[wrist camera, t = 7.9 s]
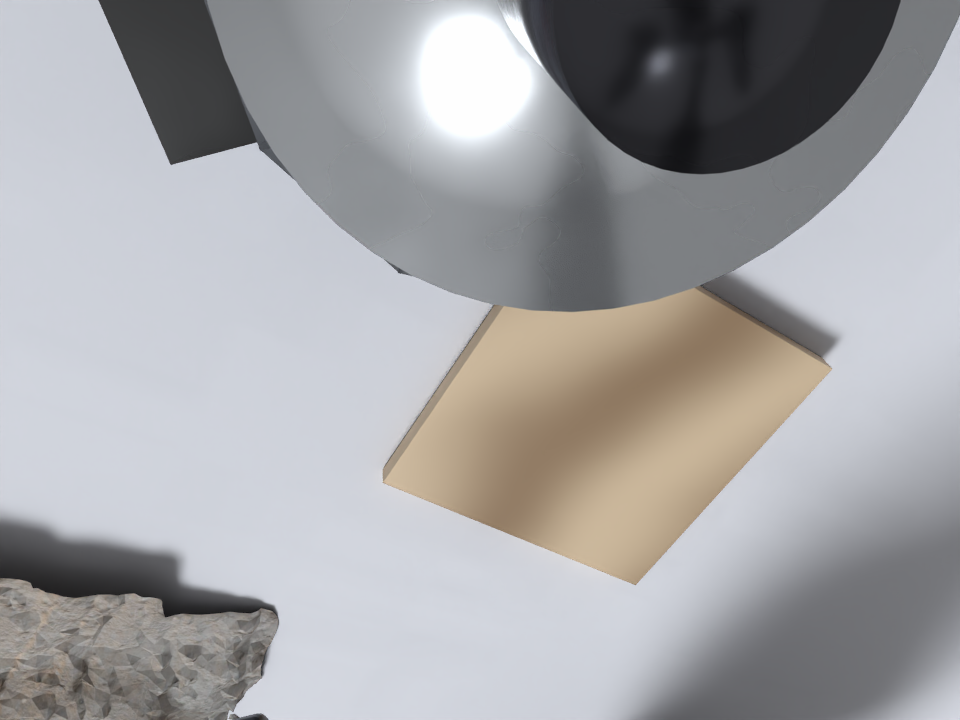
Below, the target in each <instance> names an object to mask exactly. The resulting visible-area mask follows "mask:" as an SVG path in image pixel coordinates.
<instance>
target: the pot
mask: <svg viewBox="0 0 960 720" xmlns="http://www.w3.org/2000/svg"><path fill="white" fill-rule="evenodd" d="M99 2H100V5H101V7H102V9H103V11H104V14H105V16H106V18H107V20H108V23H109V25H110V27H111V30H112V32H113V34H114V36H115V39H116V41H117V43H118V46H119V48H120V50H121V52H122V55H123V57H124V59H125V62H126V64H127V66H128V68H129V71H130V73H131V75H132V77H133V80H134V82H135V84H136V87H137V89H138V91H139V93H140V96H141V98H142V100H143V103H144V105H145V107H146V109H147V112H148V114H149V116H150V119H151V121H152V123H153V125H154V128H155V130H156V132H157V134H158V137H159V139H160V141H161V144H162V146H163V148H164V150H165V153H166V155H167V157H168V160H169V162H170V164H171V165H172V164H176V163H180V162H183V161H187V160H191V159H195V158H199V157H202V156H206V155H210V154H214V153H218V152H221V151H225V150H229V149H233V148H236V147H240V146H244V145H248V144H252V143H255V142H257V143H258V145H259V149H260V151H262V152H264V153H265V154H266V155H267V156H268V157H269V158H270V159H271V160H273V161H274V162H275V163H276V164H277V165H278V166H279V167H281V168H282V169H283V170H284V171H285V172H286V173H287V174H288V175H290V176H291V174H290V173H289V172H288V170H287V169H286V168H285V167H284V165H283V164H282V163H281V162H280V160H279V159H278V158H277V156H276V155H275V154H274V152H273V151H272V149H271V147H270V146H269V144H268V142H267V141H266V139H265V137H264V136H263V134H262V132H261V131H260V129H259V128H258V126H257V124H256V123H255V121H254V119H253V118H252V116H251V114H250V113H249V111H248V109H247V107H246V105H245V103H244V100H243V98H242V96H241V94H240V92H239V89H238V87H237V85H236V83H235V80H234V78H233V76H232V74H231V72H230V69H229V67H228V65H227V63H226V60H225V58H224V55H223V51H222V48H221V45H220V42H219V39H218V35H217V32H216V29H215V26H214V23H213V19H212V16H211V13H210V10H209V6H208V3H207V0H99ZM291 177H292V176H291ZM292 178H293V177H292ZM293 179H294V178H293ZM294 180H295V179H294ZM384 260H385V259H384ZM385 261H386V260H385ZM387 262H388V261H387ZM388 263H389V264H390V265H391V266H392V267H393V268H394V269H396V270H397V271H398V273H400V274H401V273H402V274H406V275H410V274H408V273H407V272H405V271H403V270H402V269H400V268H398V267H396V266H395V265H393V264H391V263H390V262H388ZM410 276H412V275H410Z"/></svg>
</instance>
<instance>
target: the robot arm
mask: <svg viewBox="0 0 960 720" xmlns="http://www.w3.org/2000/svg"><path fill="white" fill-rule="evenodd" d="M234 720H268V718H267V717H266V716H265V715H263V714H253V715H249V716H245V717H241V718H237V719H234Z"/></svg>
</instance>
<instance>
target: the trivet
mask: <svg viewBox="0 0 960 720" xmlns="http://www.w3.org/2000/svg"><path fill="white" fill-rule="evenodd" d="M831 370H832V368H831V367H830V366H829V365H828V364H827V363H826V362H825V360H824V359H823V358H821V357H820V356H818V355H816V354H815V353H813V352H811V351H810V350H808V349H806V348H804V347H803V346H801V345H799V344H798V343H796V342H794V341H793V340H791V339H789V338H787V337H786V336H784V335H782V334H781V333H779V332H777V331H776V330H774V329H772V328H770V327H769V326H767V325H765V324H764V323H762V322H760V321H759V320H757V319H755V318H753V317H752V316H750V315H748V314H747V313H745V312H743V311H742V310H740V309H738V308H737V307H735V306H733V305H731V304H730V303H728V302H726V301H725V300H723V299H721V298H720V297H718V296H716V295H714V294H713V293H711V292H709V291H708V290H706V289H704V288H703V287H701V286H698V287H695V288H692V289H689V290H686V291H683V292H680V293H677V294H674V295H670V296H667V297H664V298H661V299H658V300H655V301H650V302H645V303H640V304H635V305H630V306H625V307H620V308H615V309H604V310H592V311H579V312H558V311H532V310H525V309H519V308H513V307H507V306H501V305H494V306H493V308H492V309H491V311H490V312H489V314H488V315H487V317H486V318H485V320H484V321H483V323H482V324H481V325H480V327H479V328H478V330H477V331H476V333H475V334H474V336H473V337H472V339H471V340H470V342H469V343H468V345H467V346H466V348H465V349H464V351H463V352H462V353H461V355H460V356H459V358H458V359H457V361H456V362H455V364H454V365H453V367H452V368H451V370H450V371H449V373H448V374H447V376H446V377H445V379H444V380H443V381H442V383H441V384H440V386H439V387H438V389H437V390H436V392H435V393H434V395H433V396H432V398H431V399H430V401H429V402H428V404H427V405H426V407H425V408H424V409H423V411H422V412H421V414H420V415H419V417H418V418H417V420H416V421H415V423H414V424H413V426H412V427H411V429H410V430H409V432H408V433H407V435H406V436H405V437H404V439H403V440H402V442H401V443H400V445H399V446H398V448H397V449H396V451H395V452H394V454H393V455H392V457H391V458H390V460H389V461H388V463H387V464H386V465H385V467H384V468H383V483H385V484H387V485H389V486H392V487H394V488H397V489H399V490H402V491H404V492H407V493H409V494H412V495H414V496H417V497H419V498H422V499H424V500H427V501H429V502H431V503H434V504H436V505H439V506H441V507H444V508H446V509H449V510H451V511H454V512H456V513H459V514H461V515H464V516H466V517H469V518H471V519H473V520H476V521H478V522H481V523H483V524H486V525H488V526H491V527H493V528H496V529H498V530H501V531H503V532H506V533H508V534H511V535H513V536H515V537H518V538H520V539H523V540H525V541H528V542H530V543H533V544H535V545H538V546H540V547H543V548H545V549H548V550H550V551H553V552H555V553H557V554H560V555H562V556H565V557H567V558H570V559H572V560H575V561H577V562H580V563H582V564H585V565H587V566H590V567H592V568H595V569H597V570H599V571H602V572H604V573H607V574H609V575H612V576H614V577H617V578H619V579H622V580H624V581H627V582H629V583H632V584H634V585H636V584H637V583H638V582H639V581H640V580H641V579H642V577H643V576H644V575H645V574H646V573H647V572H648V571H649V570H650V569H651V568H652V566H653V565H654V564H655V563H656V562H657V561H658V560H659V559H660V558H661V557H662V555H663V554H664V553H665V552H666V551H667V550H668V549H669V548H670V547H671V546H672V544H673V543H674V542H675V541H676V540H677V539H678V538H679V537H680V536H681V535H682V533H683V532H684V531H685V530H686V529H687V528H688V527H689V526H690V525H691V524H692V523H693V521H694V520H695V519H696V518H697V517H698V516H699V515H700V514H701V513H702V512H703V510H704V509H705V508H706V507H707V506H708V505H709V504H710V503H711V502H712V501H713V499H714V498H715V497H716V496H717V495H718V494H719V493H720V492H721V491H722V490H723V488H724V487H725V486H726V485H727V484H728V483H729V482H730V481H731V480H732V479H733V477H734V476H735V475H736V474H737V473H738V472H739V471H740V470H741V469H742V468H743V466H744V465H745V464H746V463H747V462H748V461H749V460H750V459H751V458H752V457H753V456H754V454H755V453H756V452H757V451H758V450H759V449H760V448H761V447H762V446H763V445H764V443H765V442H766V441H767V440H768V439H769V438H770V437H771V436H772V435H773V434H774V432H775V431H776V430H777V429H778V428H779V427H780V426H781V425H782V424H783V423H784V421H785V420H786V419H787V418H788V417H789V416H790V415H791V414H792V413H793V412H794V410H795V409H796V408H797V407H798V406H799V405H800V404H801V403H802V402H803V401H804V400H805V398H806V397H807V396H808V395H809V394H810V393H811V392H812V391H813V390H814V389H815V387H816V386H817V385H818V384H819V383H820V382H821V381H822V380H823V379H824V378H825V376H826V375H827V374H828V373H829V372H830V371H831Z"/></svg>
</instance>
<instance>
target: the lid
mask: <svg viewBox="0 0 960 720" xmlns="http://www.w3.org/2000/svg"><path fill="white" fill-rule="evenodd" d="M207 3H208V6H209V10H210V13H211V16H212V19H213V23H214V26H215V29H216V32H217V35H218V39H219V42H220V45H221V48H222V51H223V55H224V58H225V60H226V63H227V65H228V67H229V69H230V72H231V74H232V76H233V78H234V80H235V83H236V85H237V87H238V89H239V92H240V94H241V96H242V98H243V100H244V103H245V105H246V107H247V109H248V111H249V113H250V114H251V116H252V118H253V119H254V121H255V123H256V124H257V126H258V128H259V129H260V131H261V132H262V134H263V136H264V137H265V139H266V141H267V142H268V144H269V146H270V147H271V149H272V151H273V152H274V154H275V155H276V156H277V158H278V159H279V160H280V162H281V163H282V164H283V165H284V167H285V168H286V169H287V170H288V172H289V173H290V174H291V176H292V177H293V178H294V179H295V181H296V182H297V183H298V185H299V186H300V187H301V188H302V190H303V191H304V192H305V193H306V194H307V195H308V196H309V197H310V198H311V199H312V200H313V201H314V202H315V203H316V204H317V205H318V206H319V207H320V208H321V209H322V210H323V211H324V212H325V213H326V214H327V215H328V216H329V217H330V218H331V219H332V220H333V221H334V222H335V223H336V224H337V225H338V226H339V227H341V228H342V229H343V230H345V231H346V232H347V233H348V234H350V235H351V236H352V237H354V238H355V239H356V240H357V241H359V242H360V243H361V244H363V245H364V246H365V247H366V248H368V249H369V250H370V251H372V252H373V253H374V254H376V255H378V256H380V257H381V258H383V259H385V260H386V261H388V262H390V263H391V264H393V265H395V266H396V267H398V268H400V269H402V270H403V271H405V272H407V273H408V274H410V275H412V276H414V277H416V278H419V279H421V280H423V281H426V282H428V283H430V284H433V285H435V286H437V287H440V288H442V289H444V290H447V291H449V292H451V293H455V294H458V295H462V296H465V297H469V298H472V299H476V300H479V301H482V302H486V303H489V304H494V305H501V306H507V307H513V308H519V309H525V310H532V311H558V312H579V311H592V310H604V309H615V308H620V307H625V306H630V305H635V304H640V303H645V302H650V301H655V300H658V299H661V298H664V297H667V296H670V295H674V294H677V293H680V292H683V291H686V290H689V289H692V288H695V287H698V286H700V285H702V284H704V283H706V282H709V281H711V280H713V279H715V278H718V277H720V276H722V275H724V274H727V273H729V272H731V271H733V270H735V269H737V268H739V267H741V266H742V265H744V264H746V263H747V262H749V261H751V260H753V259H754V258H756V257H758V256H759V255H761V254H763V253H765V252H766V251H768V250H770V249H772V248H773V247H774V246H776V245H777V244H779V243H780V242H781V241H783V240H784V239H785V238H787V237H788V236H790V235H791V234H792V233H794V232H795V231H796V230H798V229H799V228H801V227H802V226H803V225H805V224H806V223H807V222H809V221H810V220H811V219H812V218H813V217H815V216H816V215H817V214H818V213H819V212H820V211H821V210H822V209H823V208H825V207H826V206H827V205H828V204H829V203H830V202H831V201H832V200H833V199H835V198H836V197H837V196H838V195H839V194H840V193H841V192H842V191H844V190H845V189H846V187H847V186H848V185H849V184H850V183H851V182H852V181H853V180H854V179H855V178H856V176H857V175H858V174H859V173H860V172H861V171H862V170H863V169H864V168H865V167H866V166H867V164H868V163H869V162H870V161H871V160H872V159H873V158H874V157H875V156H876V155H877V153H878V152H879V151H880V149H881V148H882V147H883V145H884V144H885V143H886V141H887V140H888V139H889V137H890V136H891V135H892V133H893V132H894V131H895V129H896V128H897V127H898V125H899V124H900V123H901V121H902V120H903V119H904V117H905V116H906V115H907V113H908V112H909V110H910V108H911V107H912V105H913V103H914V102H915V100H916V98H917V97H918V95H919V93H920V92H921V90H922V88H923V87H924V85H925V83H926V82H927V80H928V79H929V77H930V75H931V74H932V72H933V70H934V69H935V67H936V64H937V62H938V60H939V58H940V56H941V54H942V52H943V50H944V48H945V46H946V43H947V41H948V39H949V37H950V35H951V33H952V31H953V29H954V27H955V25H956V23H957V20H958V18H959V15H960V0H207Z"/></svg>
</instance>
